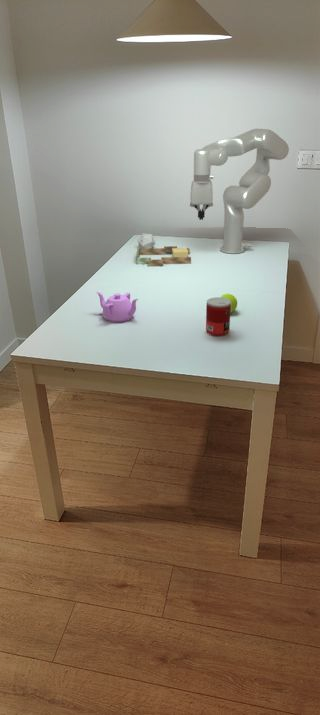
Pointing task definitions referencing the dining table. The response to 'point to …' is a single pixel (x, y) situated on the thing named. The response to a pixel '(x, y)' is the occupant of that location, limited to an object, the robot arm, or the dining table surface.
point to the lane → (160, 262)
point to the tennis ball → (233, 301)
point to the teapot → (118, 307)
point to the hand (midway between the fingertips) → (201, 219)
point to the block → (179, 252)
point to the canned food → (218, 316)
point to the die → (146, 241)
